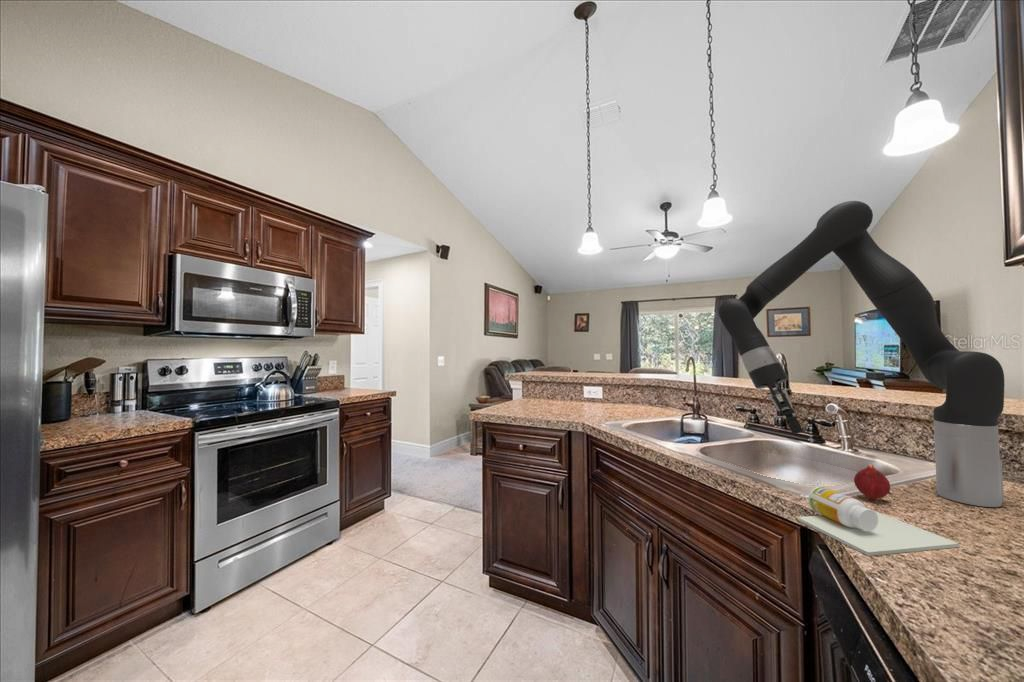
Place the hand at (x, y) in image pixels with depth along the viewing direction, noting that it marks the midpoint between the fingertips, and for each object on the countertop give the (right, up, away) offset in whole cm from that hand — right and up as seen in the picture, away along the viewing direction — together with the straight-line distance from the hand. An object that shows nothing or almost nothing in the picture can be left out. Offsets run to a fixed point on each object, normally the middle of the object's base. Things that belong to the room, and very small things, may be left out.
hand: (798, 432), depth 89 cm
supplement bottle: (-6, -10, -13) cm, 18 cm away
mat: (-2, -13, -21) cm, 25 cm away
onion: (+12, -14, -6) cm, 19 cm away
